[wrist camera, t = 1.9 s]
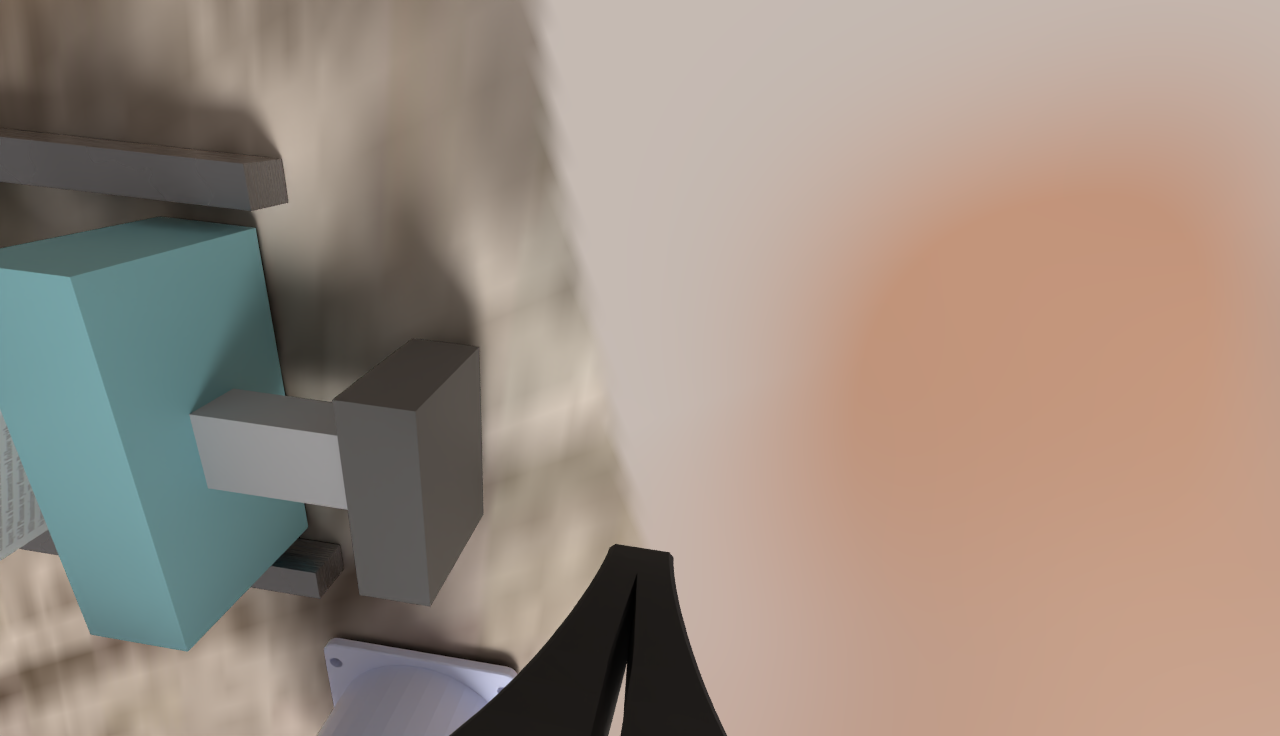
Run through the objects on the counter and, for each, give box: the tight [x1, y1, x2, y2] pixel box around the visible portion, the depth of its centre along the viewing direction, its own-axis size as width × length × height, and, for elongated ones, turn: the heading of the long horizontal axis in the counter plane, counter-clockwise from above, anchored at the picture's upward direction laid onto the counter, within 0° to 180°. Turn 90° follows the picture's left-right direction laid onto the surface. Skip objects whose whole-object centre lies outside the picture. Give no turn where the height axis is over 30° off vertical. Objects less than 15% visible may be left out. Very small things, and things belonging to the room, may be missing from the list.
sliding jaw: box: [0, 216, 483, 651], centre depth 17 cm, size 11×10×6 cm
